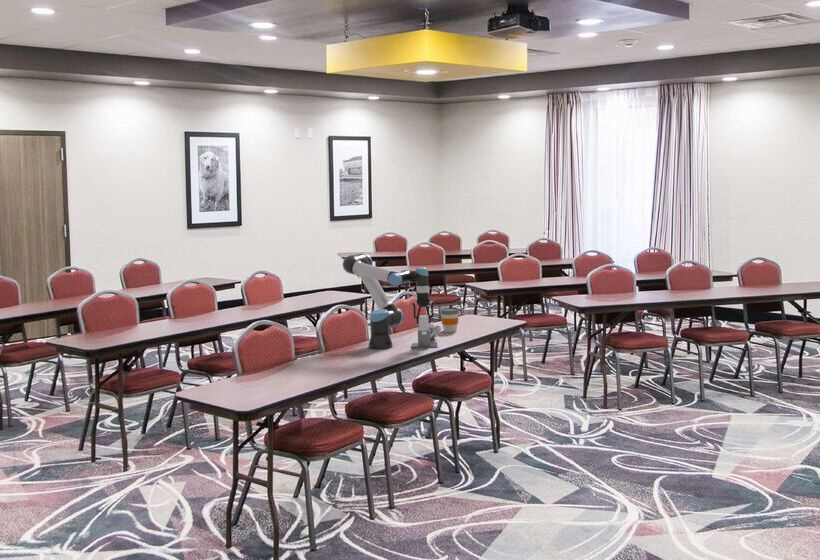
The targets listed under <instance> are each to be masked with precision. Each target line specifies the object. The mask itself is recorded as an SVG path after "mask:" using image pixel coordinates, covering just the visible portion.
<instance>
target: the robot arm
mask: <svg viewBox="0 0 820 560" xmlns="http://www.w3.org/2000/svg"><path fill="white" fill-rule="evenodd" d="M342 268H343V270H344V271H345V272H346V273H348V274H351V275H354V276H357V278H359V279H361V281H362V283H363V284H364V286H365V288H366V289H367V291H368V292H369V295H370V296H371V298H372V300H373V301H374V303H375V305H376V306H377V308H378V309H375V310H374V309H373V310H372V311H371V312H370V313H369V321H370V324H369V325H370V337H369V342H368V348H369V349H372V350H385V349H390V348H392V347H393V341H392V338H391V336H390V329H391V328H396V327H398V326H400V325H401V324H402V323H403V321H404V312H403V310H402V309H400V308H399V307H396V305H395V303H393V302H391V301H390V300H389V298H388V296H387V295H386V294H387V293H385V291H384V289H383V287H382V286H381V283H379V281H382V282H385V283H389V284H390V285H391V286H400V285H404V284H408V283H416V301H413V302H412V306H413V318H414V319H416V324H417V325H418V330H420V312H421V309H422V308H425V311H426V315H428V329H429V324H432V318H434V302H435V301H431V300H430V293H429V289H430V286H429V269H428V268H427V267H416V269H415V270H408V269H405V270H403V269H402V270H401V271H399V272H397V271H394V270H391V269H386V268H382V267H379V266H375V265H373V259H372V257H371V256H370V255H368V254H367V253H358V254H357V253H356V254H352V255H351V254H350V255H347V256H346V257H345V258H344V259H343V262H342ZM429 304H430V311H429V307H428V305H429ZM417 305H418V309H417V310H416V306H417ZM416 311H417V313H416ZM430 313H431V314H430Z"/></svg>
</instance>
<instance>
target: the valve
mask: <svg viewBox="0 0 820 560" xmlns="http://www.w3.org/2000/svg"><path fill="white" fill-rule="evenodd" d="M429 329H430V332H431V340H434V339H436V338H437V336H438V335H439V333H440V332H441V330H442V327H441V326H440V325H436V326H434V324H433V323H429Z"/></svg>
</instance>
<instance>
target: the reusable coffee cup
mask: <svg viewBox="0 0 820 560" xmlns="http://www.w3.org/2000/svg"><path fill="white" fill-rule="evenodd" d="M459 313H460V311H459V308H455V307H446V308H445V307H444V308H441V309H440V315H441V316H440V317H441V318H440V320H441V324H442V328H443V332H444V333H455V332H457V330H458V329H457V328H458V324H459Z"/></svg>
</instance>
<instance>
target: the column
mask: <svg viewBox="0 0 820 560" xmlns="http://www.w3.org/2000/svg"><path fill="white" fill-rule="evenodd" d="M419 318H420V329H419V330H420V332H423V331H428V318H429V317H428V314H426V315H424V314H423V315H419Z"/></svg>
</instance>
